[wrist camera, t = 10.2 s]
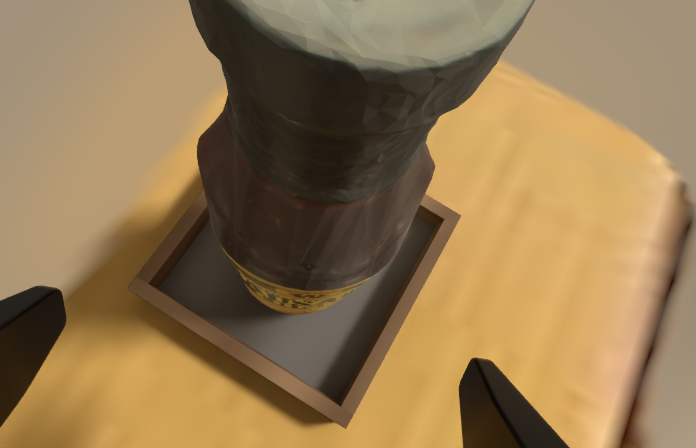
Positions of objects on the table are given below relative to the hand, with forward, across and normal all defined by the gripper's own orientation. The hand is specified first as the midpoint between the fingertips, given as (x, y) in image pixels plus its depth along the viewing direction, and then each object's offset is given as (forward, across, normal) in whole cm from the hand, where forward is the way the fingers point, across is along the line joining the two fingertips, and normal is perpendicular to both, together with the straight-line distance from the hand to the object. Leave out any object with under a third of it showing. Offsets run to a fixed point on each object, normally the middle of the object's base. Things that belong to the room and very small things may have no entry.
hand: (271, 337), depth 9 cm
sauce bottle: (+13, 0, +6) cm, 14 cm away
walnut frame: (+13, 0, +6) cm, 14 cm away
